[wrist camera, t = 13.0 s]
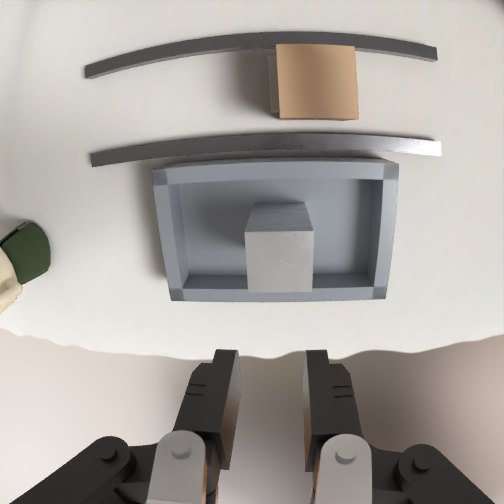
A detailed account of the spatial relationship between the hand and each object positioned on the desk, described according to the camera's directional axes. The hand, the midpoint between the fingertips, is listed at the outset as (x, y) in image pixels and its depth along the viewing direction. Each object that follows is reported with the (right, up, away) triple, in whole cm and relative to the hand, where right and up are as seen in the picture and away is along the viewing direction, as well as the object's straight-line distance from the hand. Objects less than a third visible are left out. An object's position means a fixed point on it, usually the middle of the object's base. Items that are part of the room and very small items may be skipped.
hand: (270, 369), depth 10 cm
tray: (+1, +6, +16) cm, 17 cm away
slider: (+4, +17, +11) cm, 20 cm away
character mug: (-25, +5, +19) cm, 32 cm away
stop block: (+2, +6, +15) cm, 16 cm away
